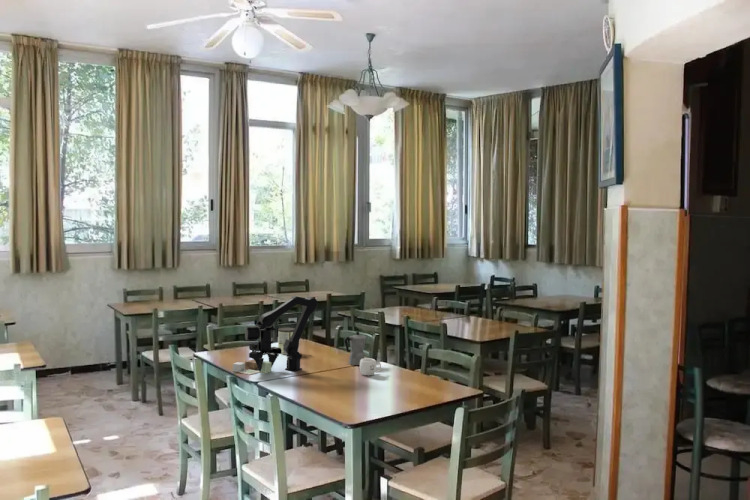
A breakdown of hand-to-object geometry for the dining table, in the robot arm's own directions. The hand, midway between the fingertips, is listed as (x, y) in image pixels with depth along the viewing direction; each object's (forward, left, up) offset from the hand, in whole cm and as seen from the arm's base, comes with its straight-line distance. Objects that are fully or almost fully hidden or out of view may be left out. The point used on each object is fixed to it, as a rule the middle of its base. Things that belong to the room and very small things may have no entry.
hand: (265, 369), depth 329 cm
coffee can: (+22, -43, -2) cm, 48 cm away
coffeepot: (-26, -44, -2) cm, 51 cm away
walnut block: (+10, -2, -2) cm, 10 cm away
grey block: (+12, +7, -1) cm, 14 cm away
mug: (-45, -30, -2) cm, 54 cm away
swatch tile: (+5, +6, -1) cm, 8 cm away
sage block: (0, 0, -1) cm, 1 cm away
